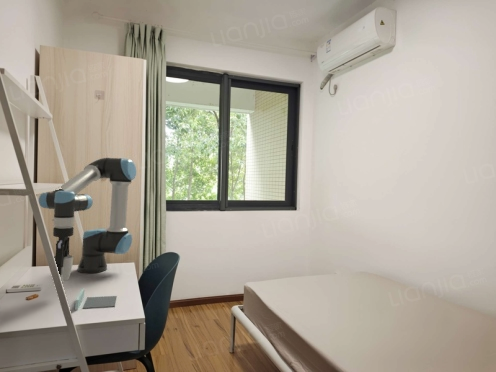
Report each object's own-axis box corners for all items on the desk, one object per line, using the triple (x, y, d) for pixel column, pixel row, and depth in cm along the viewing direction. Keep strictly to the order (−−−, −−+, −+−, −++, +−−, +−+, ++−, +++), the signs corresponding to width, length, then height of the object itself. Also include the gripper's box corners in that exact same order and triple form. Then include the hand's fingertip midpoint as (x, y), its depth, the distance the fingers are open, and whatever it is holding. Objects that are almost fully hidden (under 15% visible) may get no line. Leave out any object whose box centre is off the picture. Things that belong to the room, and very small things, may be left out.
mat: (87, 298, 140) (87, 297, 140) (116, 296, 144) (116, 295, 144) (82, 308, 128) (82, 307, 128) (114, 306, 132) (114, 305, 132)
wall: (81, 297, 140) (81, 288, 140) (83, 297, 140) (84, 288, 140) (75, 310, 127) (75, 300, 127) (77, 310, 127) (78, 300, 127)
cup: (76, 278, 140) (77, 256, 140) (60, 284, 133) (61, 260, 132) (62, 275, 143) (63, 253, 143) (46, 281, 135) (46, 257, 135)
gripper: (59, 223, 146) (57, 272, 146) (47, 231, 126) (44, 287, 127) (77, 223, 148) (75, 271, 149) (68, 231, 129) (66, 286, 129)
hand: (61, 279), depth 138 cm, fingers closed on cup, 8 cm apart
